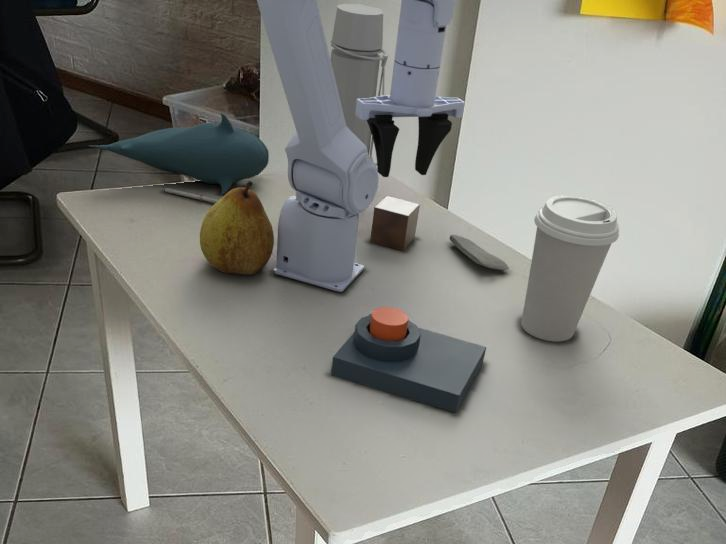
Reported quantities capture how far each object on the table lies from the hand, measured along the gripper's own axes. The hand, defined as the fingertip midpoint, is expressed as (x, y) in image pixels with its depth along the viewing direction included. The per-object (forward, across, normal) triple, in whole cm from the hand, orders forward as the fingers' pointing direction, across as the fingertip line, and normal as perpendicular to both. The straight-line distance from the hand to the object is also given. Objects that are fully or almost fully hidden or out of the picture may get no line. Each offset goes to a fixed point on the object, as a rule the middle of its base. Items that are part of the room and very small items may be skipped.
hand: (401, 173), depth 110 cm
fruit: (+10, -24, -4) cm, 26 cm away
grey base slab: (+9, -13, -31) cm, 35 cm away
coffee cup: (+10, +8, -27) cm, 30 cm away
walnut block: (+9, 0, 0) cm, 9 cm away
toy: (+3, -24, +20) cm, 31 cm away
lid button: (+6, -15, -29) cm, 33 cm away
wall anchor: (+10, -24, +18) cm, 31 cm away
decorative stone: (+9, +12, -7) cm, 16 cm away
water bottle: (+10, +1, +18) cm, 20 cm away
